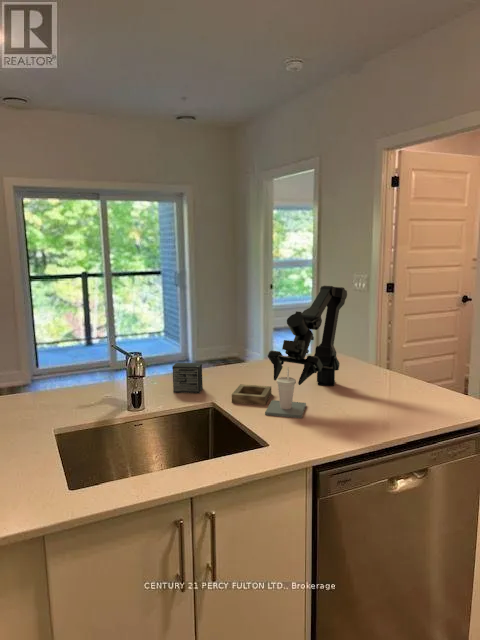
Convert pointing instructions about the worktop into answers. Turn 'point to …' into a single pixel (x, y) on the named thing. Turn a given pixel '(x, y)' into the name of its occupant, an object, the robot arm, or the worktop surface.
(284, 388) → the smoothie
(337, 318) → the robot arm
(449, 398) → the worktop surface
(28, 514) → the worktop surface
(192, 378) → the small box
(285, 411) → the coaster
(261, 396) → the holder
